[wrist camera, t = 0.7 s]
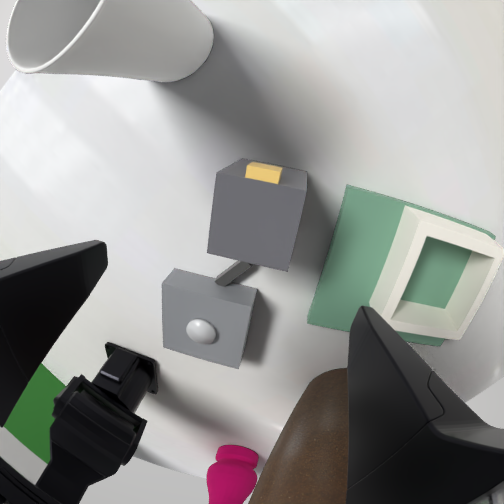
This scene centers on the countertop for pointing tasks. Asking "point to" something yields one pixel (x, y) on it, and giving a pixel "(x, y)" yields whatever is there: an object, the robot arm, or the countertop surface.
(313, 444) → the plant pot
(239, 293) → the gray button block
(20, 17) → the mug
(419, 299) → the board
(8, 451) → the cereal box
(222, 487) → the pepper mill
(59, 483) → the robot arm
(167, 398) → the countertop surface
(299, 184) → the plug
